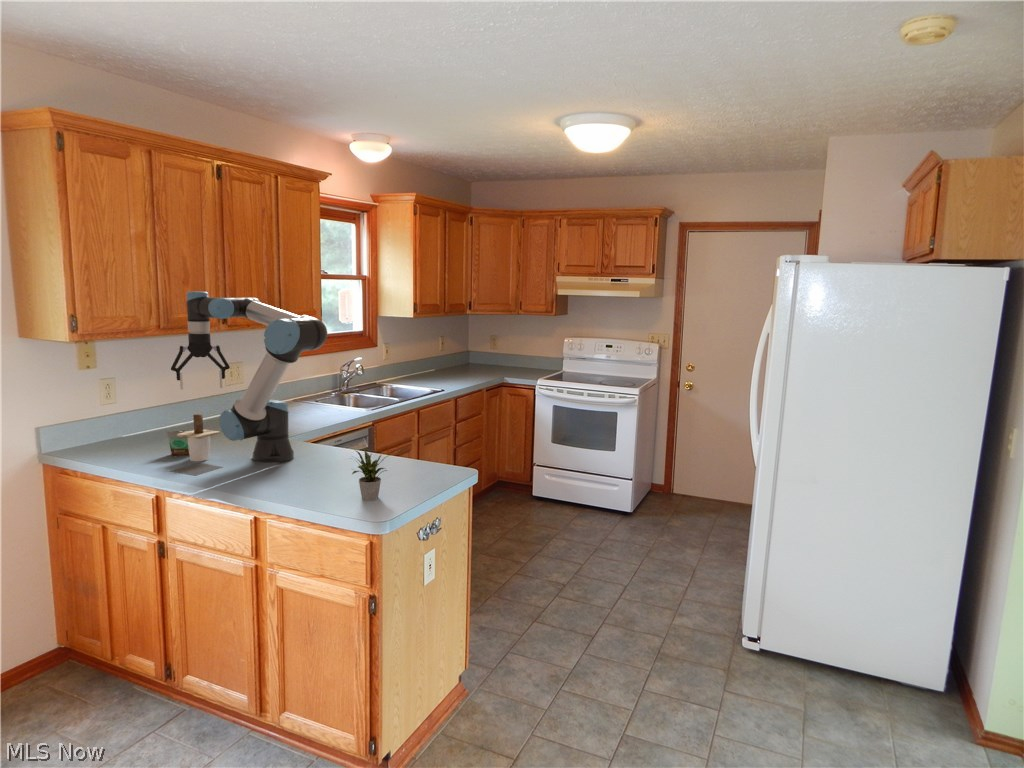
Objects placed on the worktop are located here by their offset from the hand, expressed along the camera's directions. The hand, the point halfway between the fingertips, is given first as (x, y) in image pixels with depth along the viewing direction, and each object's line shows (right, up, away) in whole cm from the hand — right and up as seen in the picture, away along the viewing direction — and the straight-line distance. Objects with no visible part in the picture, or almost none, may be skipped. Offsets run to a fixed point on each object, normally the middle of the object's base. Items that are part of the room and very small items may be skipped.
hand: (201, 388), depth 252 cm
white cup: (-1, -28, 0) cm, 28 cm away
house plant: (+71, -35, -38) cm, 88 cm away
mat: (+5, -30, -14) cm, 33 cm away
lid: (0, -18, -2) cm, 18 cm away
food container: (-10, -27, +6) cm, 29 cm away
